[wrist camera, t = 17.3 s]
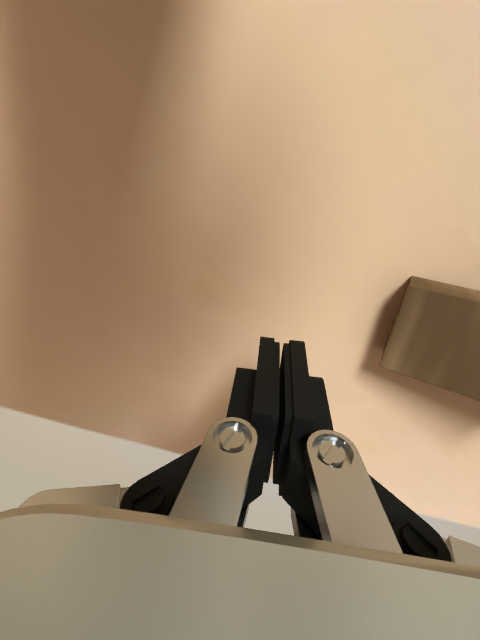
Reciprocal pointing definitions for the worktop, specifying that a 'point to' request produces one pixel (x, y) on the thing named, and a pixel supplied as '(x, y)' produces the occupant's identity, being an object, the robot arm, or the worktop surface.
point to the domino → (437, 336)
